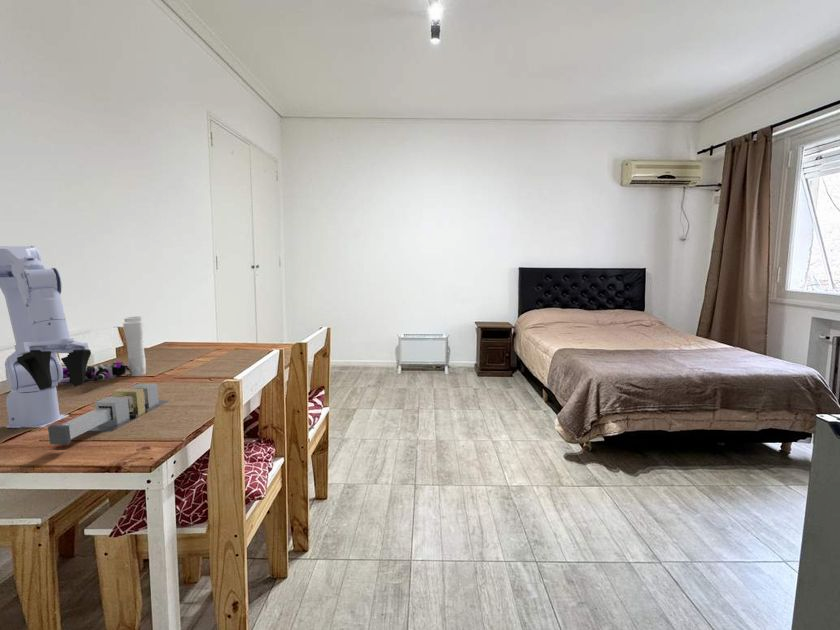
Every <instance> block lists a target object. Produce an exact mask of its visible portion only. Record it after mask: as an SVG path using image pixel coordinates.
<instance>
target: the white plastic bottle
mask: <svg viewBox="0 0 840 630" xmlns="http://www.w3.org/2000/svg"><path fill="white" fill-rule="evenodd" d="M123 320H124V321H123V323H122V325H123V333H124V337H125V340H126V348H127V349H126V352H127V359H128V366H129V367H128V368H129V369H130V371H131V372H130V371H129V370H128V372H129V374H132V375H131V376H130V377H140V376H144V375H146V373H147V372H146V371H147V370H146V369H147V364H146V363H147V359H146V354H145V345H144V343H145V342H144V341H145V340H144V338H143V337H144V322H143V316H139V315H137V316H127V317H124V319H123Z"/></svg>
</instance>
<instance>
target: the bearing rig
mask: <svg viewBox="0 0 840 630" xmlns="http://www.w3.org/2000/svg"><path fill="white" fill-rule="evenodd" d="M128 388H132V389H143V393H144V403H145V413H144V414H142V415H140V416H138V414H129V407H128V399H129V401H130V408H133V401H132V396H125V397H113V396H106V397H103V398H101V399H99V400H96V401H94V410H95V409H97V408H99V407H101V406H112V412H113V419H111V420H109V421H107V422H105V423H103V424H101V425H99V426H97V427H94V428H92V429H90V430H88V431H87V432H114V431H115V430H117V429H119V428H121V427H123V426H125V425H127V424H129V423H130V422H132V421H134V420H136V419H138V418H139V417H142V416H144V415H146V414H147V413H150V412H151V411H153V410H155V409H157V408H158V407H160V406H163V405H164V404H167V403H168V402H169V400H163V399H162V400H161V399H160V397H159V386H158V383H153V382H152V383H149V382H148V383H144V382H143V383H141V382H139V383H136V384H134V385H132V386H129V387H128ZM128 397H129V398H128ZM159 399H160V400H159Z"/></svg>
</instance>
